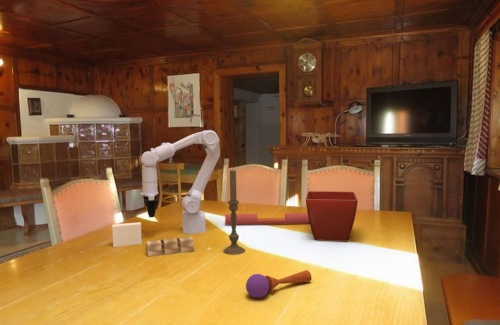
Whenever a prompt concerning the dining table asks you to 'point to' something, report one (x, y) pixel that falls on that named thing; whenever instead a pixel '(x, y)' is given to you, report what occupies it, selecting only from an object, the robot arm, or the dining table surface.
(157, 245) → the offcut
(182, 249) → the offcut
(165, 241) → the block
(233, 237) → the candlestick holder
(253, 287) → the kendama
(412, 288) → the dining table surface
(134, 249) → the dining table surface
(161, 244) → the rack
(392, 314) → the dining table surface
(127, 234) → the cream rectangular block
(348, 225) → the plant pot
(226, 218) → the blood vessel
